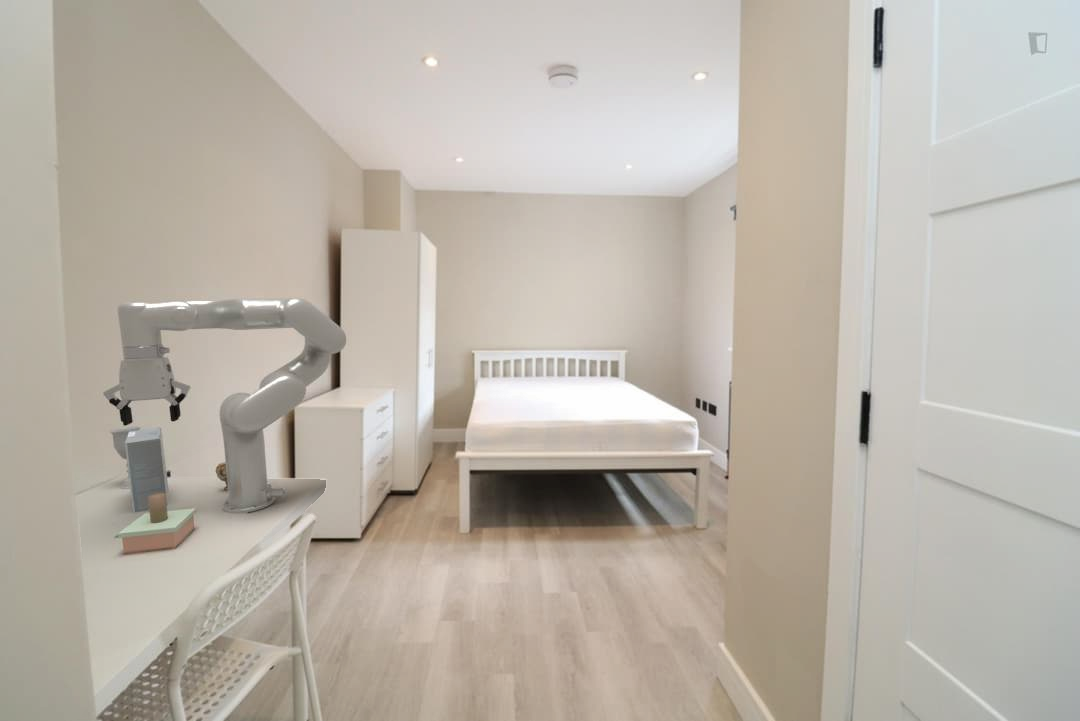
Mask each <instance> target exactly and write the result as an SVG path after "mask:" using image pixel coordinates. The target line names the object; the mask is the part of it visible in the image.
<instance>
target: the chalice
mask: <svg viewBox="0 0 1080 721" xmlns="http://www.w3.org/2000/svg"><path fill="white" fill-rule="evenodd" d="M135 430H141V426H127V427H121V428H115V429H112V430H110V431H109V432H110V434H111V435H112V440H113V441H112V442H113V448H114V449H115V451H116V452H117V454H118V455H119V456H120V457H121V458H122V459H123V460H126V461H127V456H126V448H125V442H126V439H127V436H128V433H129V431H135ZM125 466H126V468H127V469H126V472H127V474H128V476H127V478H125V479H124V480H123V482H122V485H121V487H120V488H121V489H123V490H125V489H130V481H129V473H128V464H127V463H126V465H125Z"/></svg>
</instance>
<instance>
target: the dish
mask: <svg viewBox="0 0 1080 721" xmlns="http://www.w3.org/2000/svg"><path fill="white" fill-rule="evenodd" d="M194 516H195V514H194V515H193V516H192V517H191V518H190V519H189V520H188V521H187V522H186V523H184V524H183V525H182V526H181V527H180V528H179V529H178V530H177V531H176V532H169V533H160V534H150V535H141V536H132V537H123V538H121V539H122V540H121V541H122V547H123V549H122V550H123V555H131V554H132V555H133V554H138V553H139V554H140V553H148V552H156V551H166V550H172V549H173V550H174V549H175V550H176V549H177V548H178V547H179V546H180V544H182V543H183V542H184V541H185V540H186V539H187V538H188V537H189V536H190V535H191V534H192V533H193V532H194V531H195V530H196V527H195V518H194Z"/></svg>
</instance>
